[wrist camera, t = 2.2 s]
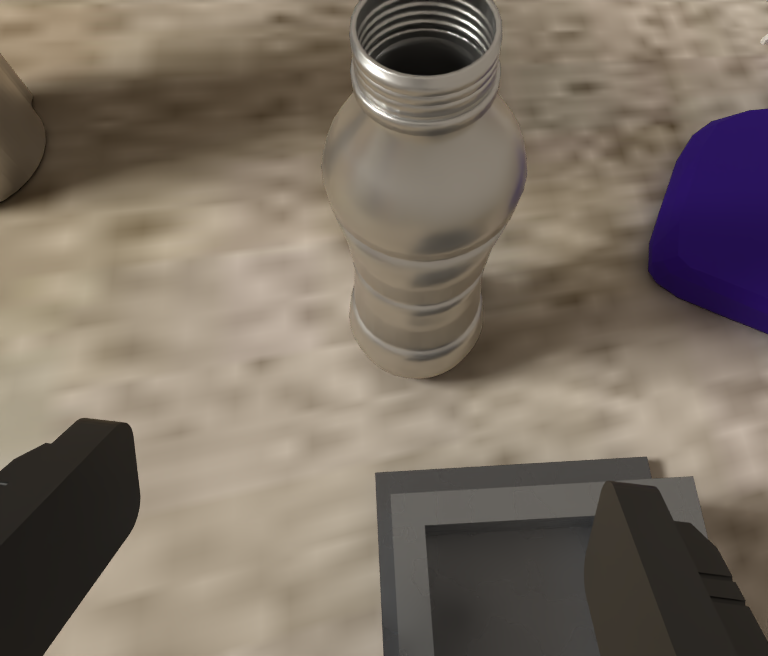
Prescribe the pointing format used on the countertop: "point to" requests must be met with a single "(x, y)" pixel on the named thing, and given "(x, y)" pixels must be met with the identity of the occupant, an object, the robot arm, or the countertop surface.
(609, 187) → the countertop surface
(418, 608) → the rack socket
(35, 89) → the countertop surface
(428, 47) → the plastic bottle
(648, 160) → the countertop surface
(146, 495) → the countertop surface
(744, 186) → the spray bottle
